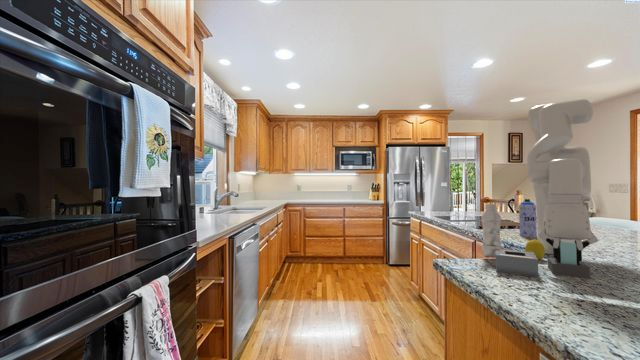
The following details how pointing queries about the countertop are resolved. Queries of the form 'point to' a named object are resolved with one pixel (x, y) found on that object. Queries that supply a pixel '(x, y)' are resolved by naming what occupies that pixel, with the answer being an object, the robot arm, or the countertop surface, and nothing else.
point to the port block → (516, 262)
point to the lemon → (535, 248)
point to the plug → (568, 251)
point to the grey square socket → (569, 269)
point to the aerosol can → (527, 219)
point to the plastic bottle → (491, 230)
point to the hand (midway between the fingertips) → (567, 261)
